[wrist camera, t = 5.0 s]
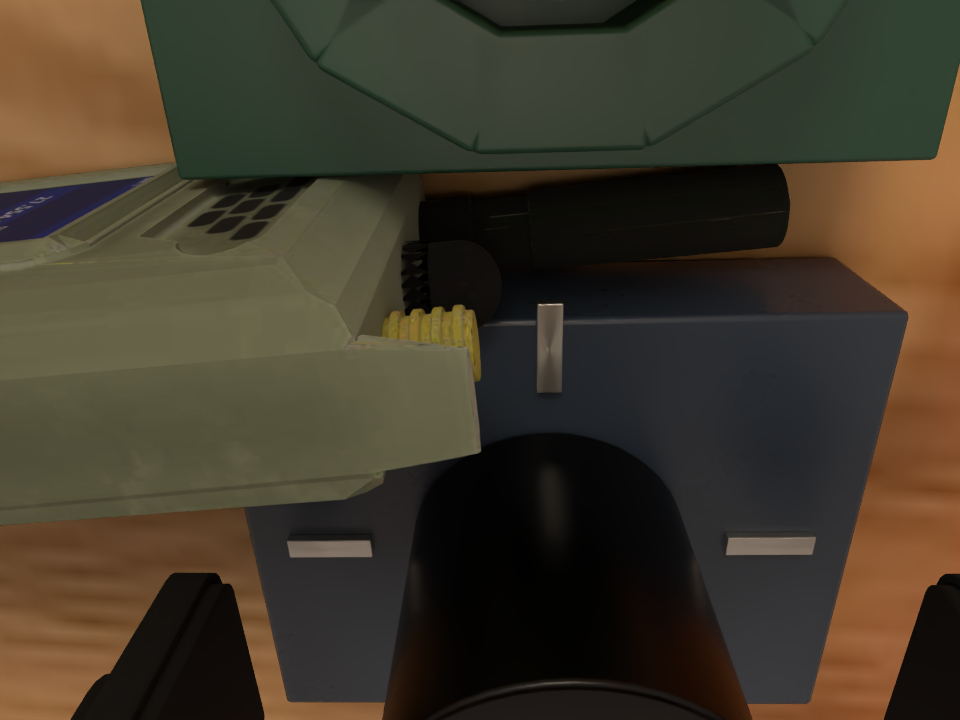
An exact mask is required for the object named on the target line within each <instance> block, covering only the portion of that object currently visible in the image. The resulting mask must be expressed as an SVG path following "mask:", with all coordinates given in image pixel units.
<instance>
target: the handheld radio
mask: <svg viewBox="0 0 960 720" xmlns="http://www.w3.org/2000/svg"><path fill="white" fill-rule="evenodd" d="M526 192H527V195H523V196H514V197H505V198H496V199H486V200H477V201H472V200H471V198H470V197H469V196H467V197H458V198H449V199H439V200H430V201H425V194H424V186H423V180H422V177H421V176H420V175H419V174H389V175H353V176H316V177H279V178H242V179H206V180H183V179H180V177H179V173H178V169H177V164H176V162H173V163H165V164H156V165H147V166H139V167H130V168H122V169H113V170H104V171H96V172H87V173H78V174H70V175H61V176H53V177H44V178H35V179H27V180H18V181H10V182H1V183H0V525H13V524H26V523H40V522H53V521H66V520H79V519H92V518H106V517H119V516H132V515H145V514H158V513H172V512H185V511H198V510H211V509H224V508H238V507H251V506H264V505H277V504H290V503H304V502H317V501H330V500H343V499H347V498H350V497H353V496H356V495H359V494H362V493H365V492H368V491H370V490H371V489H373V488H375V487H377V486H379V485H380V484H382V483H383V481H384V477H385V472H386V470H392V469H397V468H403V467H408V466H414V465H420V464H425V463H431V462H436V461H442V460H447V459H453V458H458V457H462V456H467V455H472V454H477V453H479V452H481V443H480V428H479V419H478V410H477V402H476V393H475V385H474V382H477V381H480V377H481V361H480V347H479V337H478V329H477V328H479V327H481V326H483V325H484V324H486V323H487V322H488V321H489V320H490V319H491V318H492V316H493V315H494V314H495V312H496V310H497V308H498V306H499V303H500V299H501V294H502V281H501V275H500V271H499V269H508V268H518V267H528V266H533V270H544V269H554V268H564V267H574V266H585V265H595V264H605V263H616V262H626V261H636V260H646V259H657V258H667V257H677V256H688V255H698V254H708V253H718V252H729V251H739V250H749V249H760V248H770V247H778V246H779V245H780V244H781V243H782V242H783V240H784V237H785V235H786V231H787V227H788V221H789V213H790V199H789V193H788V187H787V182H786V178H785V176H784V173H783V171H782V169H781V168H780V166H779V165H778V164H762V165H753V166H744V167H735V168H725V169H716V170H707V171H698V172H689V173H679V174H670V175H661V176H652V177H642V178H633V179H624V180H615V181H605V182H596V183H587V184H578V185H568V186H559V187H550V188H541V189H532V190H526ZM428 282H429V283H428ZM426 293H428V294H427V295H425V294H426ZM429 293H430V294H429ZM423 304H429V305H427V306H424V305H423ZM430 304H431V305H430Z"/></svg>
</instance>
